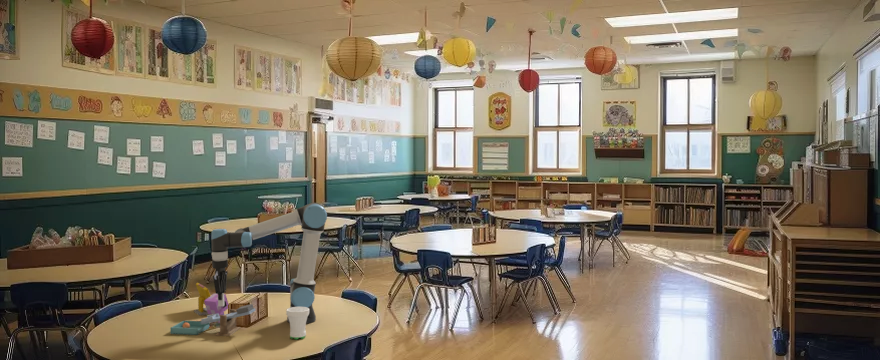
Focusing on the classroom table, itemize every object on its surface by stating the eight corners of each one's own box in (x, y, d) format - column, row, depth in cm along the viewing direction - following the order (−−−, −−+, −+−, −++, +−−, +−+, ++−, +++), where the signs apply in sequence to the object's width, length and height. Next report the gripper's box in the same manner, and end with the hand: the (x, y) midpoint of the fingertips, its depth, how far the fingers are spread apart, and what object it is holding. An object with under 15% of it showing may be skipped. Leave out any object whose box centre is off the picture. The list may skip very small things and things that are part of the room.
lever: (256, 310, 350) (254, 303, 350) (248, 315, 339) (247, 307, 339) (208, 320, 352) (207, 313, 352) (200, 325, 342) (198, 318, 342)
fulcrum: (240, 328, 353) (240, 309, 352) (229, 336, 339) (229, 316, 338) (227, 328, 353) (227, 308, 353) (215, 335, 340) (215, 315, 339)
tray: (209, 327, 354) (209, 321, 354) (197, 334, 340) (197, 328, 340) (183, 326, 356) (183, 320, 356) (170, 334, 342) (170, 327, 342)
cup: (298, 342, 329) (298, 313, 328) (281, 338, 335) (281, 310, 334) (314, 336, 338) (314, 308, 338) (297, 333, 344) (297, 305, 344)
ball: (190, 321, 350) (184, 321, 350) (187, 323, 346) (181, 323, 347) (191, 328, 350) (184, 328, 350) (188, 330, 346) (181, 330, 347)
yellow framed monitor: (215, 315, 380) (215, 287, 379) (201, 317, 375) (200, 288, 375) (205, 308, 396) (205, 281, 396) (191, 310, 392) (191, 282, 391)
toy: (234, 318, 368) (227, 294, 364) (224, 326, 362) (217, 302, 357) (219, 317, 373) (212, 293, 368) (209, 325, 366) (202, 300, 362)
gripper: (218, 257, 352) (219, 302, 353) (207, 261, 339) (208, 309, 340) (232, 257, 351) (233, 303, 352) (221, 262, 338) (223, 309, 339)
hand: (221, 305), depth 346 cm, fingers closed
